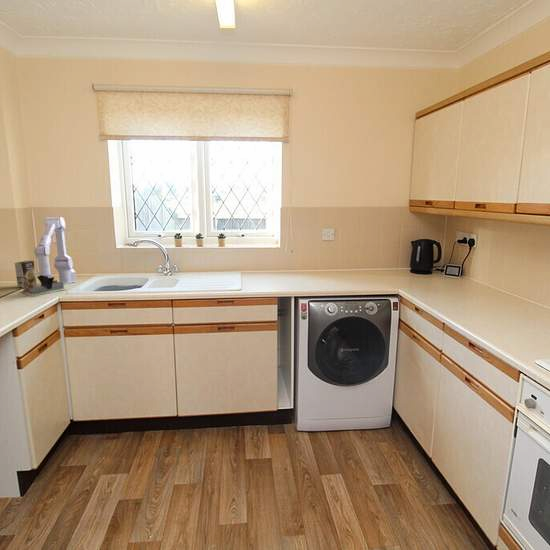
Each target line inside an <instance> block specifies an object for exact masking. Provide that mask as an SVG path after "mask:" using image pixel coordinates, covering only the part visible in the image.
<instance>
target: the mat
mask: <svg viewBox="0 0 550 550" xmlns="http://www.w3.org/2000/svg"><path fill="white" fill-rule="evenodd" d="M66 289H67V287H64V289H59V290H53V291H48V292H42V293H37V294H30V293H26V295H27V294H28V296H30V297H35V295H36V296H40V295H41V294H42V295H47V294H52V293H51V292H53V293H57V292H56V291H58V292H62V290H63V291H67V290H66ZM46 293H47V294H46ZM42 295H41V296H42Z"/></svg>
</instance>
